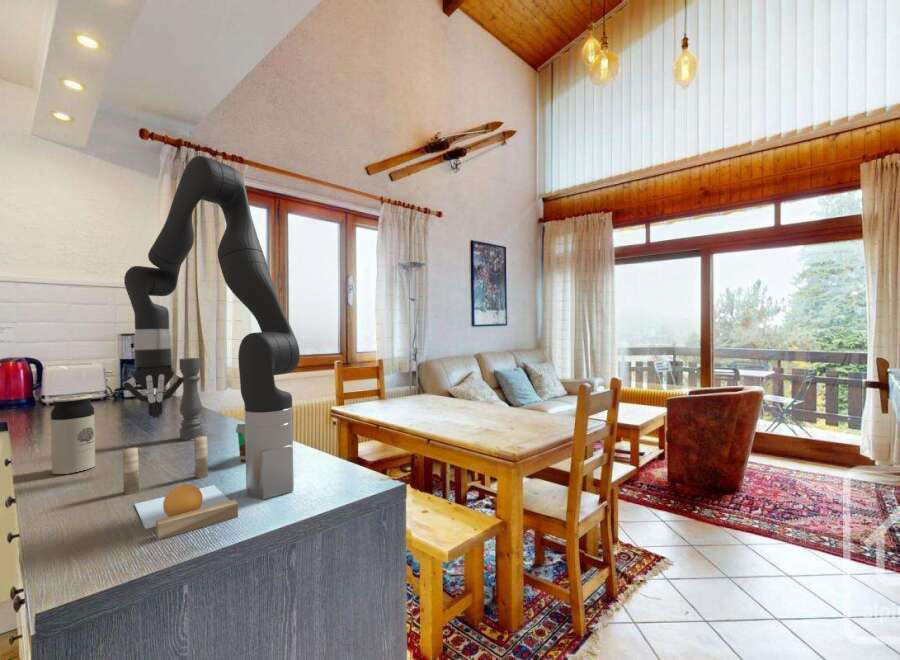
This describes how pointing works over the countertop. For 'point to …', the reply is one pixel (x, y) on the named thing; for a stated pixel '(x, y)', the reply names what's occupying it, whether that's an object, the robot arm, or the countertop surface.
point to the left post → (130, 470)
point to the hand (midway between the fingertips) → (155, 417)
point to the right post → (201, 457)
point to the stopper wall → (196, 519)
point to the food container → (241, 441)
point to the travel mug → (72, 434)
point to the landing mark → (155, 511)
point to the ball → (182, 500)
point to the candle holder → (190, 399)
